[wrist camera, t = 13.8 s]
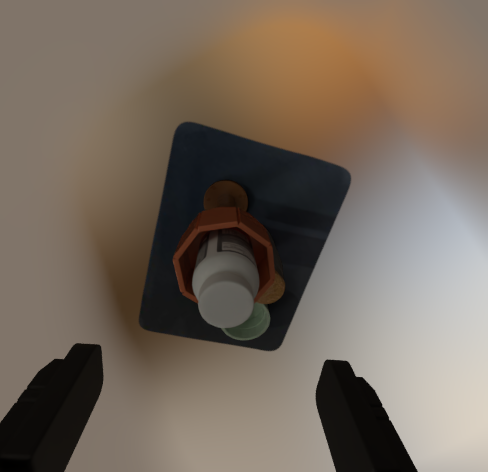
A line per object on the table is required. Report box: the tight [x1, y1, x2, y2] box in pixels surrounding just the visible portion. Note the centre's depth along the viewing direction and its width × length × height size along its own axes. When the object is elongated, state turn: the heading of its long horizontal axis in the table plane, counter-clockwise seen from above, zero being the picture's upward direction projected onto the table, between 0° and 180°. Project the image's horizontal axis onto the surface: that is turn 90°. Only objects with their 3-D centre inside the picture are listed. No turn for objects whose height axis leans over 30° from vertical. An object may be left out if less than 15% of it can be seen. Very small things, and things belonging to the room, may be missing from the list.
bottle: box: [257, 229, 285, 304], centre depth 43 cm, size 6×6×15 cm
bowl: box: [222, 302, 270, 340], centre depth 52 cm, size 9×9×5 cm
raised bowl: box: [173, 207, 276, 304], centre depth 28 cm, size 9×9×5 cm
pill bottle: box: [192, 227, 259, 328], centre depth 25 cm, size 5×5×10 cm
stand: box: [204, 180, 248, 212], centre depth 38 cm, size 7×7×18 cm
